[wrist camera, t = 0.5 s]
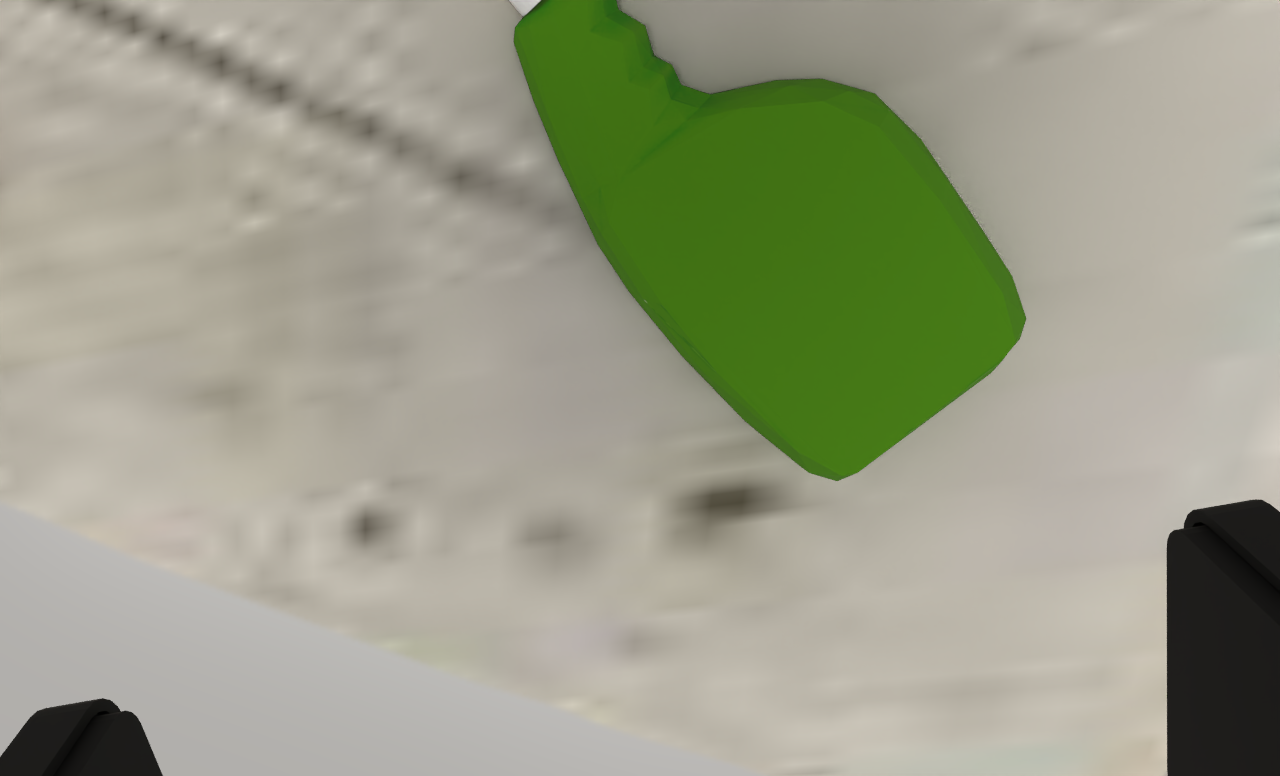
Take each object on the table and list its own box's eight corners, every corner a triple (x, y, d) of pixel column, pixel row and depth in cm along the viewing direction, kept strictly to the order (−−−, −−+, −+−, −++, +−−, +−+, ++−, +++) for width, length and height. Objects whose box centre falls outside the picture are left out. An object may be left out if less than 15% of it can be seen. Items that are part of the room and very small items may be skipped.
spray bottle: (804, 480, 43) (344, -30, 36) (1037, 301, 40) (593, -279, 34) (817, 515, 40) (322, -32, 33) (1069, 325, 38) (592, -304, 31)
